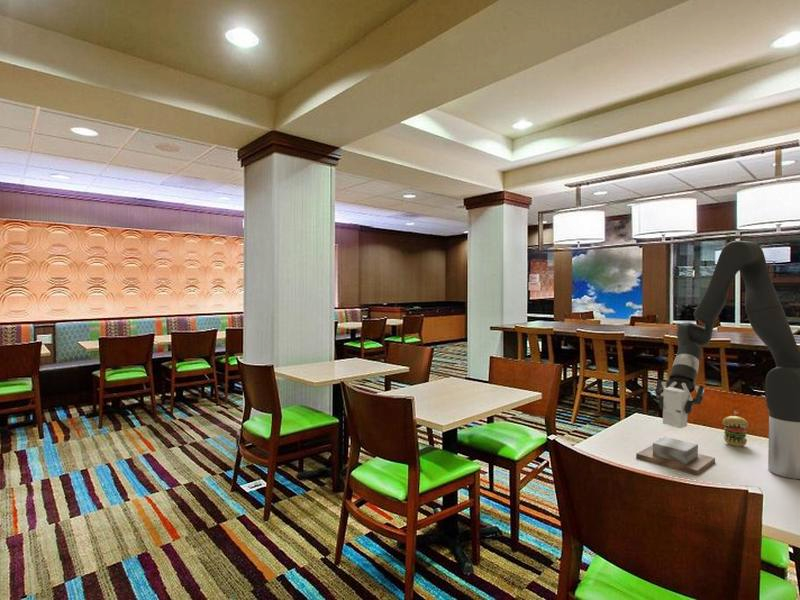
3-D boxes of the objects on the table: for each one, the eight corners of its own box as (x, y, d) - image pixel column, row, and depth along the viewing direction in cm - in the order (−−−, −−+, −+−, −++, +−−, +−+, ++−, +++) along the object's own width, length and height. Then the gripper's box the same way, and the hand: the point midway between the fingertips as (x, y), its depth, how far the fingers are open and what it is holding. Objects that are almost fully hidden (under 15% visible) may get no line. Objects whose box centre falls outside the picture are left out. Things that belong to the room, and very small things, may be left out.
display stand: (714, 462, 146) (715, 445, 145) (697, 475, 136) (697, 457, 135) (656, 447, 160) (656, 432, 159) (636, 457, 150) (636, 441, 150)
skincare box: (661, 423, 149) (662, 388, 149) (669, 421, 151) (670, 386, 151) (680, 428, 144) (681, 391, 143) (688, 426, 146) (689, 390, 145)
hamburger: (723, 445, 160) (724, 413, 160) (720, 439, 167) (720, 408, 166) (750, 449, 157) (751, 415, 157) (745, 443, 163) (746, 410, 163)
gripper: (659, 360, 157) (647, 399, 149) (707, 366, 147) (697, 408, 139) (663, 373, 161) (652, 412, 153) (711, 379, 151) (701, 421, 143)
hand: (674, 410), depth 146 cm, fingers closed on skincare box, 6 cm apart
